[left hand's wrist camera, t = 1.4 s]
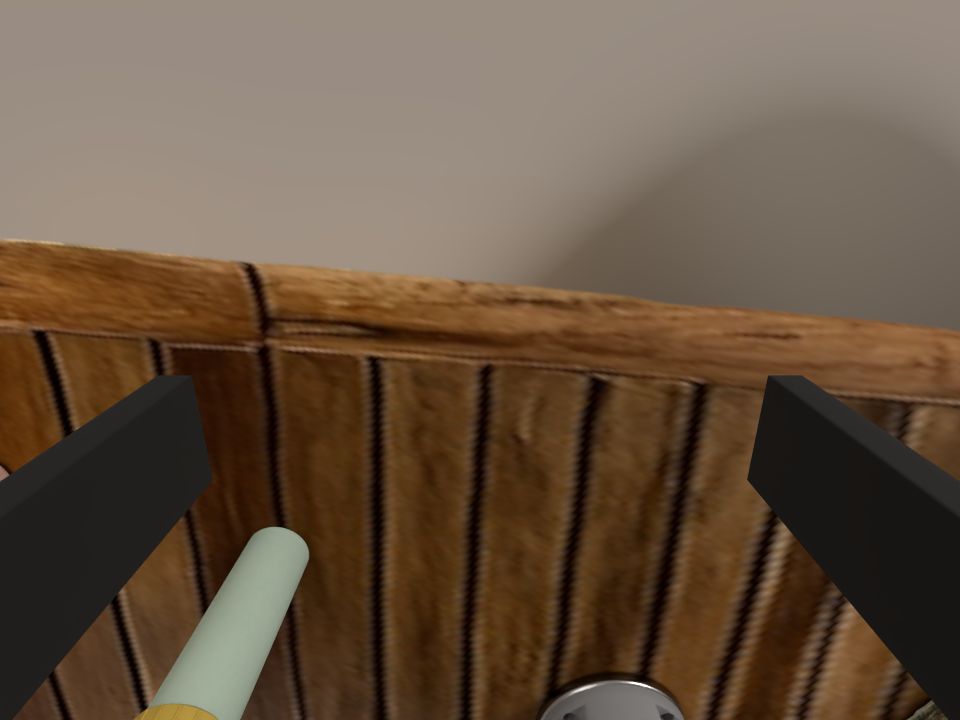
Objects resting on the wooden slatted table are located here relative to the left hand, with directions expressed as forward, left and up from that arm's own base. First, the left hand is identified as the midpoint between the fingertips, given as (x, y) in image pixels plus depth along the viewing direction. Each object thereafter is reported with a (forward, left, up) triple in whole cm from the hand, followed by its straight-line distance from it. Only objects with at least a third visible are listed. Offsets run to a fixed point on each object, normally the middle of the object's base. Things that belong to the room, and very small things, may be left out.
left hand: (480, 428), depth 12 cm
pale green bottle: (-27, +18, -28) cm, 43 cm away
